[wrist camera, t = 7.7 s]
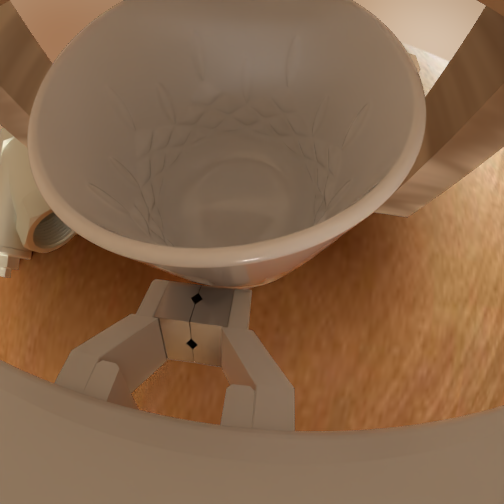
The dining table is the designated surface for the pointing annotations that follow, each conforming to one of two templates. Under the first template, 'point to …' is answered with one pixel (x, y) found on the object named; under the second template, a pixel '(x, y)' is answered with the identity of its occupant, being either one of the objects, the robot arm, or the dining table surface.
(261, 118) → the white cup
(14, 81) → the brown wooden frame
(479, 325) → the dining table surface
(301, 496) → the robot arm
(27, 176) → the pipe fitting
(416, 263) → the dining table surface
